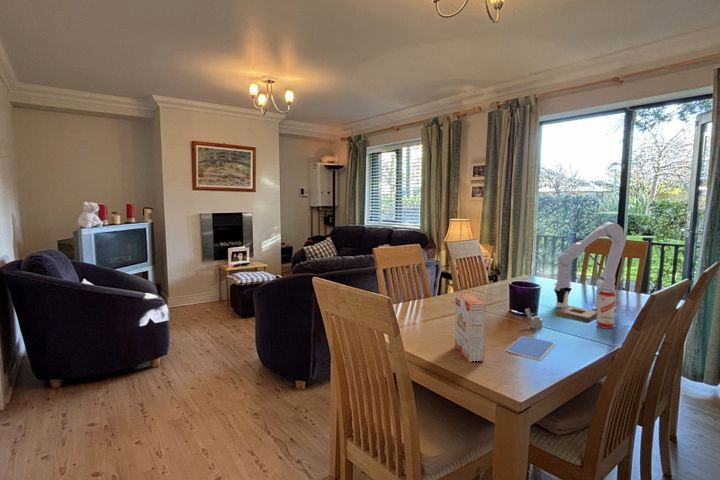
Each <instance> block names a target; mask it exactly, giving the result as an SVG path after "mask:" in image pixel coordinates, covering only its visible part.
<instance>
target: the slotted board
mask: <svg viewBox="0 0 720 480" xmlns="http://www.w3.org/2000/svg"><path fill="white" fill-rule="evenodd" d="M555 315H556V316H560V317H563V318H564V317H565V318H569V319H573V320H578V321H581V322H582V321H583V322H587V323H589V322H591V321H592V320H594V319H595V318H596V319H597V310H594V309H588V308H583V307H578V306H573V305H568V306H566V307H563V308H562V307H560V308H559V309H557V310H556V311H555Z"/></svg>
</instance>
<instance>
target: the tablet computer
mask: <svg viewBox="0 0 720 480" xmlns="http://www.w3.org/2000/svg"><path fill="white" fill-rule="evenodd" d="M554 346H555V343H554V342H553V341H548V340H545V339H543V340H542V339H538V338H535V337H531V336H527V335H526V336H525V335H521V336H520V337H519V338H518V339H517V340H515V341H514V342H513V343H512V344H511V345H509V347H507V348H506V349H505V352H506V351H508V352H507V353H509V352H511V353H510V354H512V353H515V354H514V355H516V354H518V355H517V356H520V355H521V357H525V358H528V359H533V360H536V361H542V360H543V359H544V358H545V357H546V355H547V354H548V353H549V352H550V351H551V350H552V349H553V348H554Z"/></svg>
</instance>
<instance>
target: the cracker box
mask: <svg viewBox="0 0 720 480" xmlns="http://www.w3.org/2000/svg"><path fill="white" fill-rule="evenodd" d="M454 317H455V321H454V322H455V326H454V327H455V328H454V347H455V348H456V350H457V351H458V350H459V351H460V352H459V351H458V352H459V353H460V354H461V356H462V357H463V356H464V357H465V358H466V359H465V358H464V357H463V358H464V359H465V360H466V361H467V362H468V363H476V362H475V361H483V362H484V360H485V359H484V357H485V356H484V355H485V327H486V326H485V325H486V323H485V320H486V319H485V318H486V304H485V303H483V302H482V301H481V300H479V299H478V298H477V297H475V296H474V295H472V294H471V293H456V294H455V316H454ZM472 361H474V362H472Z"/></svg>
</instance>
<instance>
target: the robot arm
mask: <svg viewBox="0 0 720 480" xmlns="http://www.w3.org/2000/svg"><path fill="white" fill-rule="evenodd" d="M605 237H608V239H609V240H610V241H611V245H610V250H609V253H608V255H607V259H606V262H605V264H604V268H603V270H602V272H601V273H600V274H599V277H598V278H597V279H596V281H595V287H596V288H597V289H596V292H595V303H594V304H595V305H594V306H593V307H592V308H591V310H594V311H597V308H598V294H599V292H600V290H612V291H614V292H615V290H616V285H615V283H616V273H617V270H618V267H619V264H620V262H621V258H622V254H623V251H624V249H625V245H626V242H627V239H626V236H625V234H624V228H622V226H621V225H620V224H618V223H616V222H611V221H606V222H603V223H601V225H599V226H597V228H596V229H594V230H593V231H591V232H590V233H589V234H588V235H587V236H586V237H584V238H583V239H582V240H581V241H580V242H575V243H571V244H570V245H571V246H570V247H569V248H567V249H565V250H563V252H561V253H559V254H558V255H557V258H556V259H557V262H558V264H557V265H558V267H557V276H556V277H557V279H556V282H555V283H554V289H553V291H554V293H555V295H556V301H557V300H558V302H559V303H563V300H564V296H565V293H566V292H567V291H568V296H569V294H570V293H571V291H572V289H573V288H572V287H571V286H572V282H571V264H572V263H573V260H575V259H576V258H577V257H579V256H580V255H581V254H583V253H584V252H585V251H586V248H587V247H589V245H590V244H592V243H593V242H595V241H596V240H597V239H599V238H605ZM616 309H617V308H616V307H615V310H616Z"/></svg>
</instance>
